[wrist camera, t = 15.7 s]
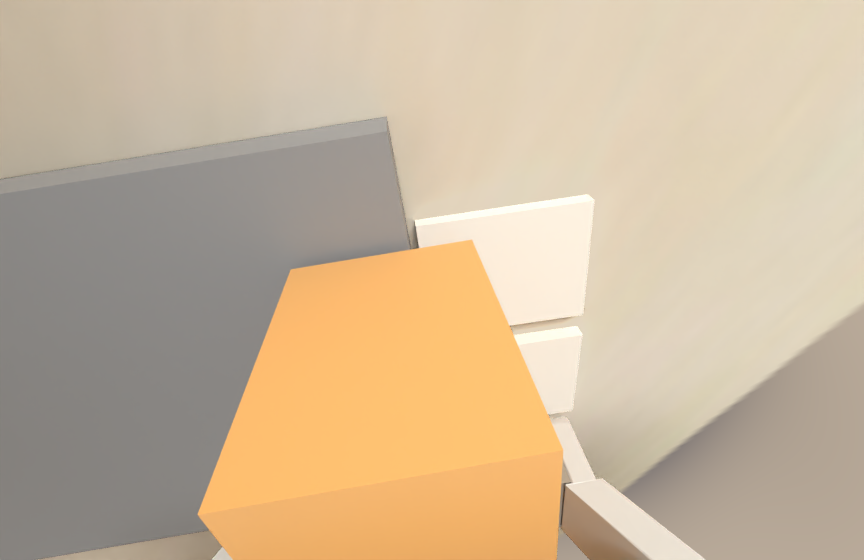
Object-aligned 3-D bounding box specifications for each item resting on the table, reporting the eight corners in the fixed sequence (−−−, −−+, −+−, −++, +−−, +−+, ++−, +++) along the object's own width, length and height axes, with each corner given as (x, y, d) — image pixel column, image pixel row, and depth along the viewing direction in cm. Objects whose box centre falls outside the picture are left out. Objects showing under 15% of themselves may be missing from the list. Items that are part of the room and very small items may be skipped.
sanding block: (491, 461, 15) (548, 686, 10) (368, 483, 15) (361, 722, 10) (471, 239, 10) (563, 449, 5) (290, 269, 10) (197, 514, 5)
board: (-60, 541, 18) (-94, 581, 16) (-517, 262, 10) (-647, 299, 9) (448, 455, 18) (453, 488, 16) (386, 117, 10) (386, 131, 9)
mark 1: (430, 318, 14) (432, 337, 13) (414, 212, 12) (415, 226, 11) (572, 297, 14) (583, 315, 14) (580, 188, 12) (594, 200, 11)
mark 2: (444, 409, 17) (447, 430, 16) (434, 337, 15) (437, 357, 14) (563, 391, 17) (572, 410, 16) (571, 316, 15) (582, 334, 14)
